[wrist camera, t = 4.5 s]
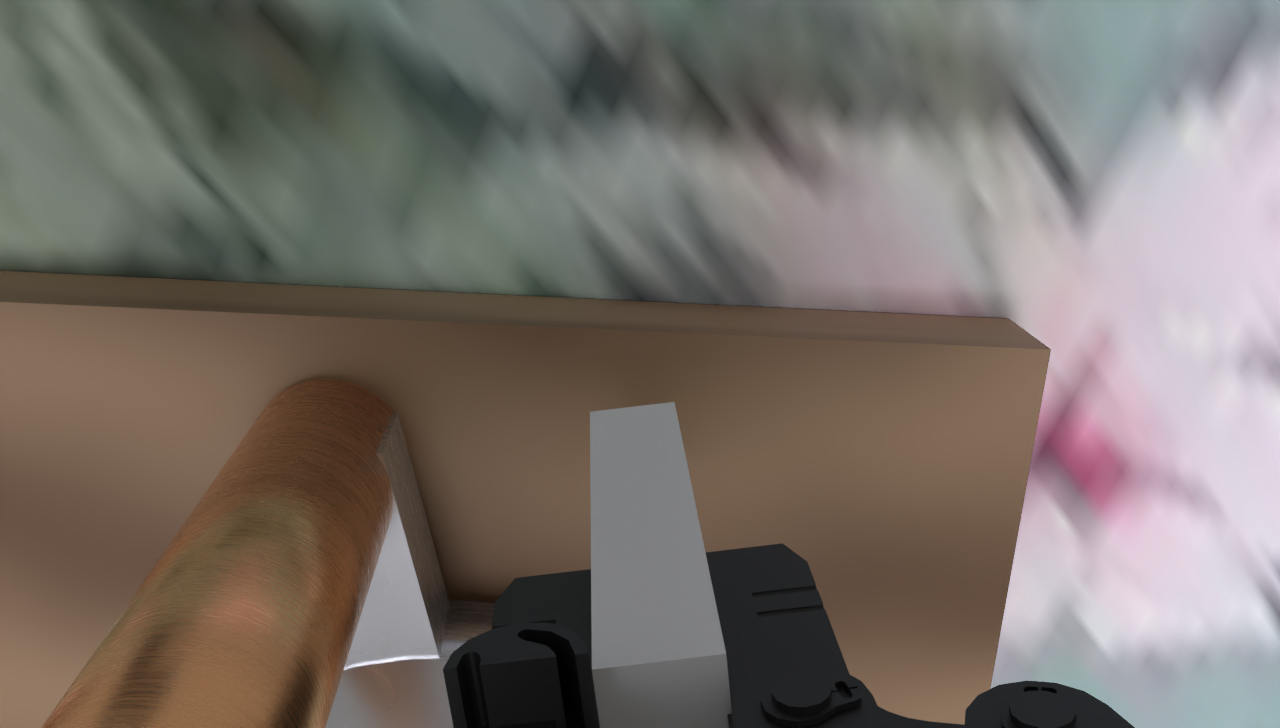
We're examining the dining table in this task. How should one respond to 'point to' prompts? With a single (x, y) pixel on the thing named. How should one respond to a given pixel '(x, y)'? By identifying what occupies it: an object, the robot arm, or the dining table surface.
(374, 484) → the cam disc
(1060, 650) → the dining table surface
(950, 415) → the board
